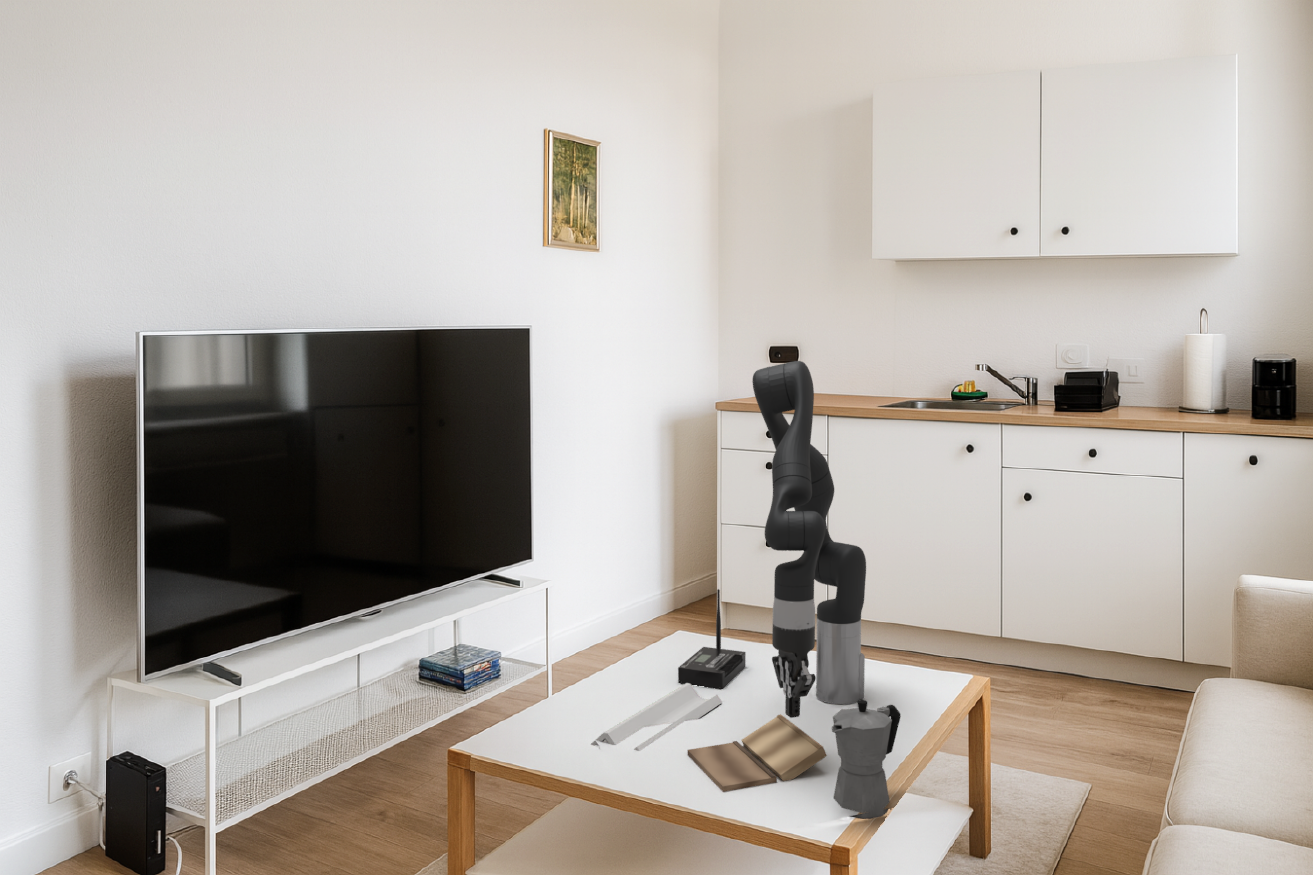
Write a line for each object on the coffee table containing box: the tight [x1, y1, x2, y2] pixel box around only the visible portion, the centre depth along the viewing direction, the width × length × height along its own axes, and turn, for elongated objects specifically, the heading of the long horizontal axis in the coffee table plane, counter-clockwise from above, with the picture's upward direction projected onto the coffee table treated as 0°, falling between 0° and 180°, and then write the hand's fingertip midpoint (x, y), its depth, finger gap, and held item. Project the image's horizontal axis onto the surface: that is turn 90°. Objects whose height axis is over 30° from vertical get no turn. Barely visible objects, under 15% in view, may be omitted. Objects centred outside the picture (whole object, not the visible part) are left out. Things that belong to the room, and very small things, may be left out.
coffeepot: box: [831, 699, 902, 820], centre depth 166 cm, size 15×9×18 cm, turn 125°
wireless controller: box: [677, 588, 747, 690], centre depth 231 cm, size 20×14×17 cm
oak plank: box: [740, 713, 828, 782], centre depth 182 cm, size 16×9×2 cm, turn 20°
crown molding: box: [590, 683, 723, 752], centre depth 203 cm, size 31×12×4 cm, turn 148°
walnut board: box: [687, 740, 778, 793], centre depth 179 cm, size 10×16×2 cm, turn 20°
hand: (792, 715), depth 183 cm, fingers closed
